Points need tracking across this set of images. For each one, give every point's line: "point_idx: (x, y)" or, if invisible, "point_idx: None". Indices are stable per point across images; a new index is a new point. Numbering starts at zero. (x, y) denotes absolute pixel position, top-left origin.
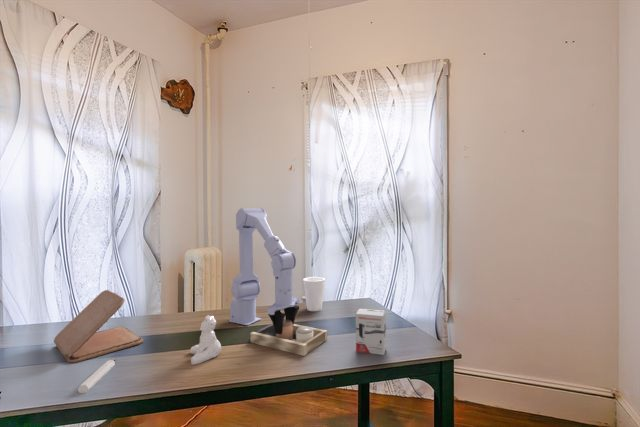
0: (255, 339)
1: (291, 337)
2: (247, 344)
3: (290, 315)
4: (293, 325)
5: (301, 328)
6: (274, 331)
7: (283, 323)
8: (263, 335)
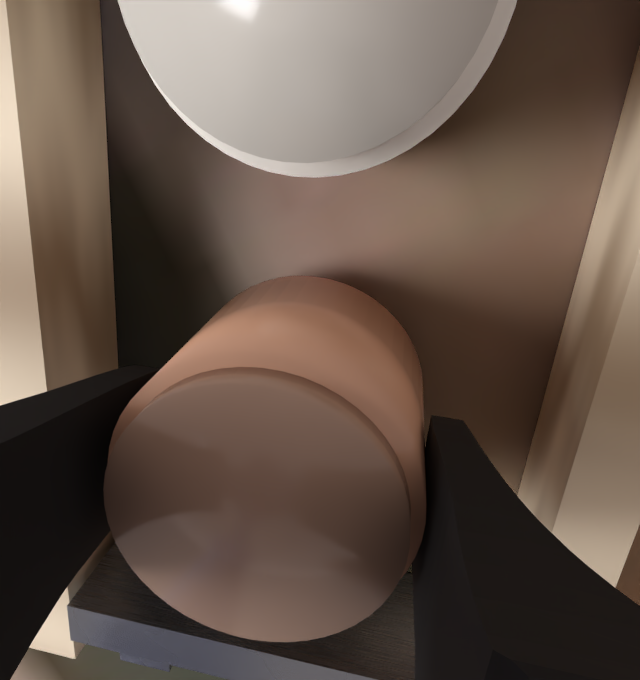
0: None
1: (312, 279)
2: None
3: (16, 523)
4: None
5: (294, 54)
6: None
7: (321, 509)
8: None
